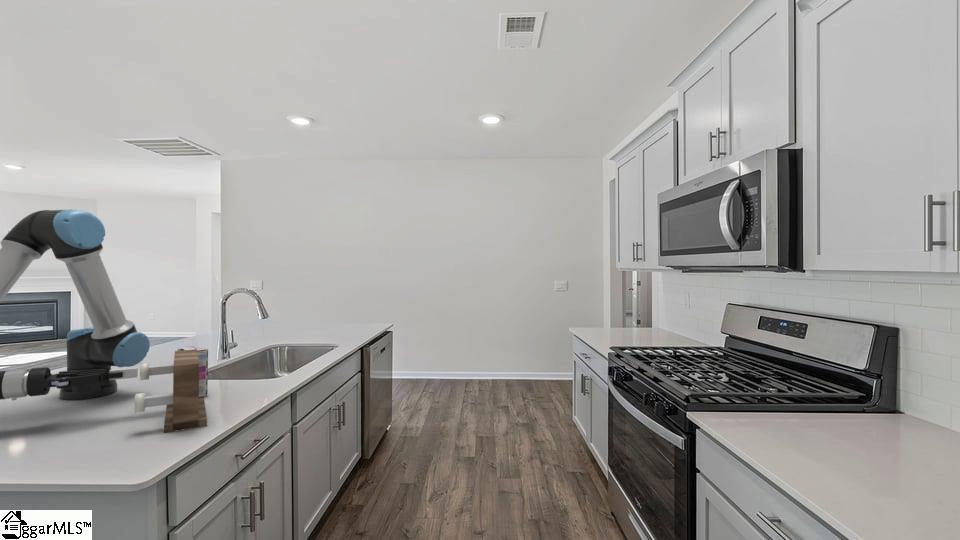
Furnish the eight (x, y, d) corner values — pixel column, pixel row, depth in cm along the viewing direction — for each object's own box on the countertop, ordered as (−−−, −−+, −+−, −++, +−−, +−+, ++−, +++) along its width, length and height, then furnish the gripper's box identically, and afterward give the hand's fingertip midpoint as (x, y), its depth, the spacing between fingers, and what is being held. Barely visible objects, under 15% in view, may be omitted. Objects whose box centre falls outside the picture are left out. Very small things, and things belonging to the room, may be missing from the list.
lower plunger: (136, 409, 124) (136, 391, 124) (186, 403, 131) (186, 386, 131) (134, 415, 120) (134, 396, 120) (186, 408, 127) (186, 390, 126)
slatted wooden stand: (166, 408, 143) (167, 351, 142) (203, 403, 148) (204, 348, 148) (164, 432, 123) (164, 366, 122) (207, 425, 128) (207, 362, 128)
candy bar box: (208, 396, 156) (208, 349, 156) (193, 400, 151) (193, 351, 151) (191, 391, 162) (192, 345, 161) (176, 394, 157) (176, 347, 157)
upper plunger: (141, 378, 139) (141, 361, 138) (186, 373, 145) (186, 358, 145) (139, 381, 134) (140, 365, 134) (186, 377, 141) (186, 361, 141)
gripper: (35, 390, 128) (139, 379, 141) (21, 402, 117) (135, 390, 130) (35, 364, 128) (139, 356, 141) (21, 374, 117) (135, 364, 130)
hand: (137, 372), depth 136 cm, fingers closed
